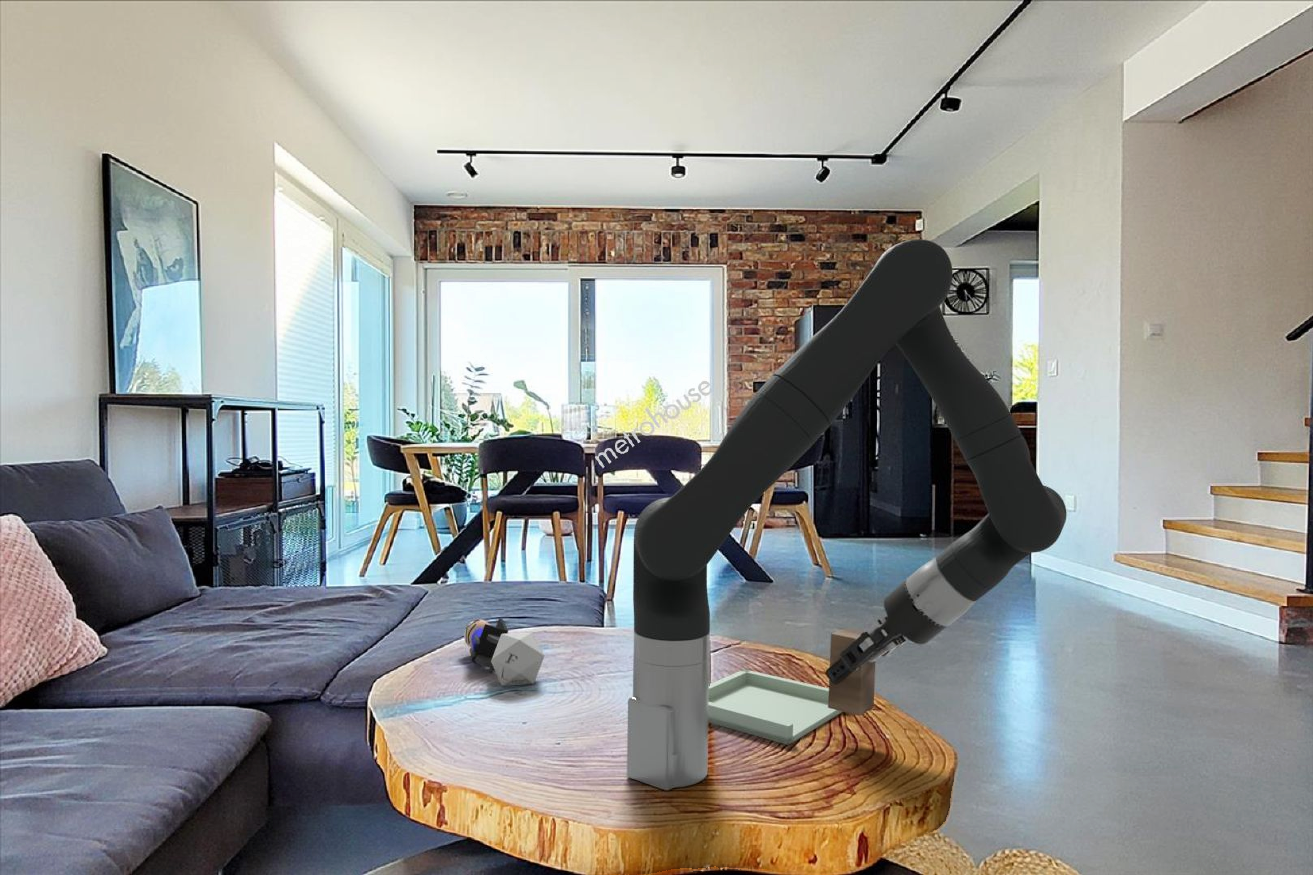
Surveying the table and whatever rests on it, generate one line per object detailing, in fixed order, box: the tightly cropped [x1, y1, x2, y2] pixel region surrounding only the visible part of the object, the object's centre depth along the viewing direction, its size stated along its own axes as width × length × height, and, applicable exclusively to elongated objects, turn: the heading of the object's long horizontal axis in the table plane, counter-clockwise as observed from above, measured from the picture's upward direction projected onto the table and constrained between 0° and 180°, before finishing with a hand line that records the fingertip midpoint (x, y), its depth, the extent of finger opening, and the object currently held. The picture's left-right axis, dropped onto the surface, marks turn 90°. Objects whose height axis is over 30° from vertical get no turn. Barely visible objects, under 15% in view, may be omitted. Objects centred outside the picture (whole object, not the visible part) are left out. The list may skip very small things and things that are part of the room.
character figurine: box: [463, 617, 509, 669], centre depth 145 cm, size 8×7×15 cm
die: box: [491, 631, 545, 687], centre depth 134 cm, size 8×9×10 cm
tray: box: [708, 668, 843, 746], centre depth 122 cm, size 18×18×2 cm
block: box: [828, 627, 876, 717], centre depth 111 cm, size 4×4×10 cm
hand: (839, 673), depth 112 cm, fingers closed on block, 4 cm apart
